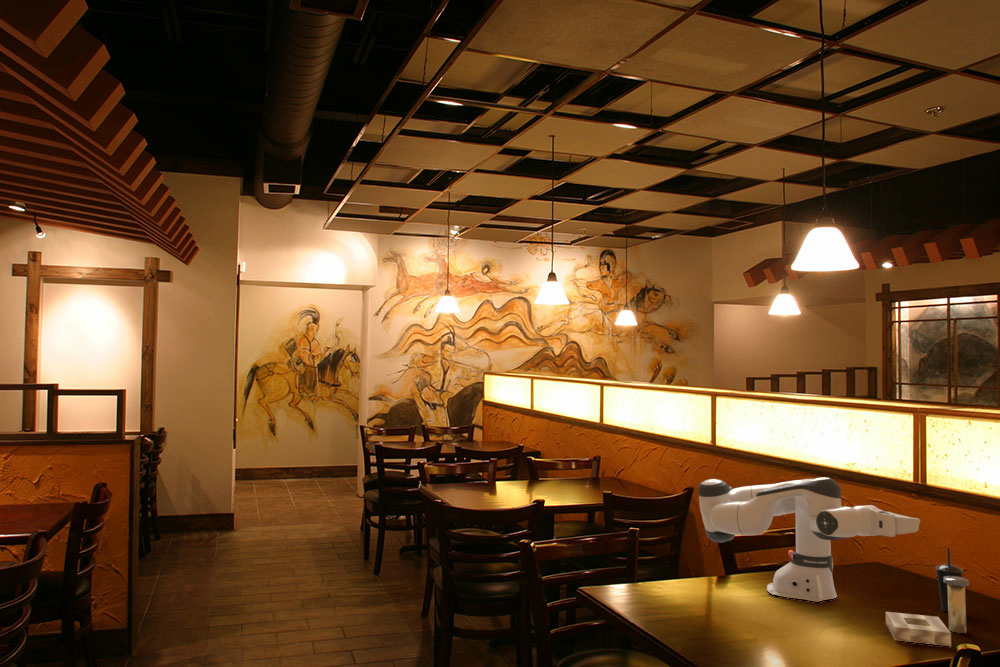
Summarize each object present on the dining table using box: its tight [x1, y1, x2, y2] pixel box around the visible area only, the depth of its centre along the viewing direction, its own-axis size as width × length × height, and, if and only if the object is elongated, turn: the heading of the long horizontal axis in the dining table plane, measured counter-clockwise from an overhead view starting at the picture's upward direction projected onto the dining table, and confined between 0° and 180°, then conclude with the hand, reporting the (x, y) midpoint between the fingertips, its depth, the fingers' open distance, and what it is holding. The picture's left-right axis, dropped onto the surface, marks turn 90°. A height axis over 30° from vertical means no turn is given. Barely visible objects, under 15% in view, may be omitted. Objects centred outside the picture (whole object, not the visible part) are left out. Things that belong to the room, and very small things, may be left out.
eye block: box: [885, 611, 952, 648], centre depth 208 cm, size 14×14×4 cm
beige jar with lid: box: [943, 576, 970, 634], centre depth 213 cm, size 6×6×15 cm
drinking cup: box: [935, 547, 964, 613], centre depth 230 cm, size 8×8×20 cm
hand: (905, 517), depth 220 cm, fingers open, 8 cm apart
